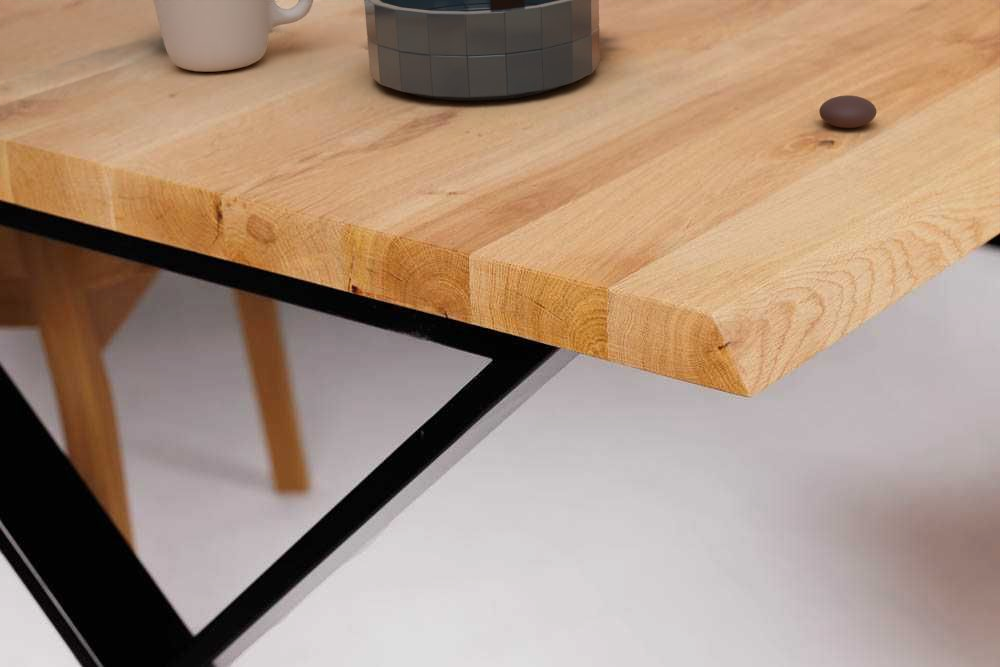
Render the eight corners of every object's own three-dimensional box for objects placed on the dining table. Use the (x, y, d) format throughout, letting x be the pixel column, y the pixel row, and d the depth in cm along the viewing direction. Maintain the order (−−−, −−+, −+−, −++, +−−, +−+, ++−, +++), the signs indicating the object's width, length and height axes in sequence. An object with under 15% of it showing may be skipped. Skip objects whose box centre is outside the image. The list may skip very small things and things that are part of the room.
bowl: (518, 119, 81) (514, 22, 79) (325, 90, 89) (316, 0, 86) (639, 60, 92) (639, -27, 90) (457, 38, 99) (453, -43, 97)
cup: (309, 39, 101) (297, -78, 98) (332, 65, 94) (320, -60, 91) (153, 56, 98) (135, -63, 95) (165, 85, 91) (146, -43, 88)
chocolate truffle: (817, 133, 77) (819, 104, 76) (819, 116, 80) (820, 89, 79) (875, 134, 76) (877, 106, 76) (875, 118, 79) (877, 90, 78)
